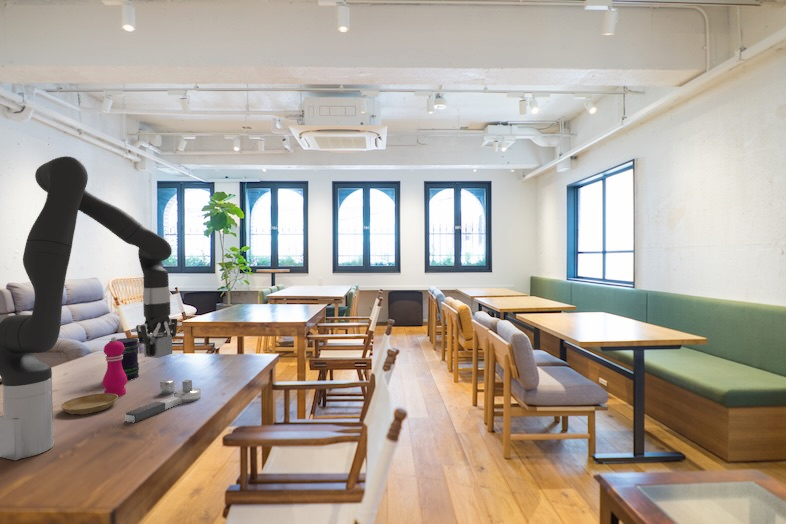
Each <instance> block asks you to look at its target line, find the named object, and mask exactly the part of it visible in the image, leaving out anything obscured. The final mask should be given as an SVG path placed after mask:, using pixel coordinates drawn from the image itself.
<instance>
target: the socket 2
mask: <svg viewBox="0 0 786 524" xmlns="http://www.w3.org/2000/svg"><path fill="white" fill-rule="evenodd" d="M175 385H176V384H175V379H165V380H162V381H160V382H159V387H160V388H159V389H160V391H159V392H160V393H159V394H160V395H161V394H163V395H162V396H166V394H169V395H172V394H174V392H176V390H175ZM171 393H172V394H171Z"/></svg>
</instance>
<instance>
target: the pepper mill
mask: <svg viewBox="0 0 786 524" xmlns="http://www.w3.org/2000/svg"><path fill="white" fill-rule="evenodd" d="M117 339H118V338H117V337H116V336H112V337H111V338H110V341H112V342H109V341H108V342H107V343H106V344H105V345H104V347H103V353H104V355H106V356H105V361H106V363H107V366H106V367H107V368H106V371H105V374H104V376H103V379H102V384H101V385H102V387H103V388H104V389H105V390H104V392H103V393H111V394H116V395H118V397H121V395H122V396H124V395H126V394H127V391H126V390H127V388H126V387H125V386H126V385H127V383H128V381H127V377H126V374H125V372H124V370H123V368H122V363H121V362H122V359H123V355H122V353H123V351H124V345H123V343H121V342H119V341H117ZM123 394H124V395H123Z"/></svg>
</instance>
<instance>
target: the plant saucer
mask: <svg viewBox="0 0 786 524" xmlns="http://www.w3.org/2000/svg"><path fill="white" fill-rule="evenodd" d="M118 398H119V396H118V395H116V394H111V393H104V392H103V393H94V394H93V393H92V394H87V395H83V396H78V397H75V398H72V399H69V400H67V401H64V402H63V403H61V405H60V408H61V409H62V410H64V412H66V413H68V414H70V415H74V414H80V415H86V414H88V413H89V414H93V412H94V413H98V412H101V411H104V410H106V409H108V408H110V407H112V405H114V403H115V402H116V401H117V399H118Z"/></svg>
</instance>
